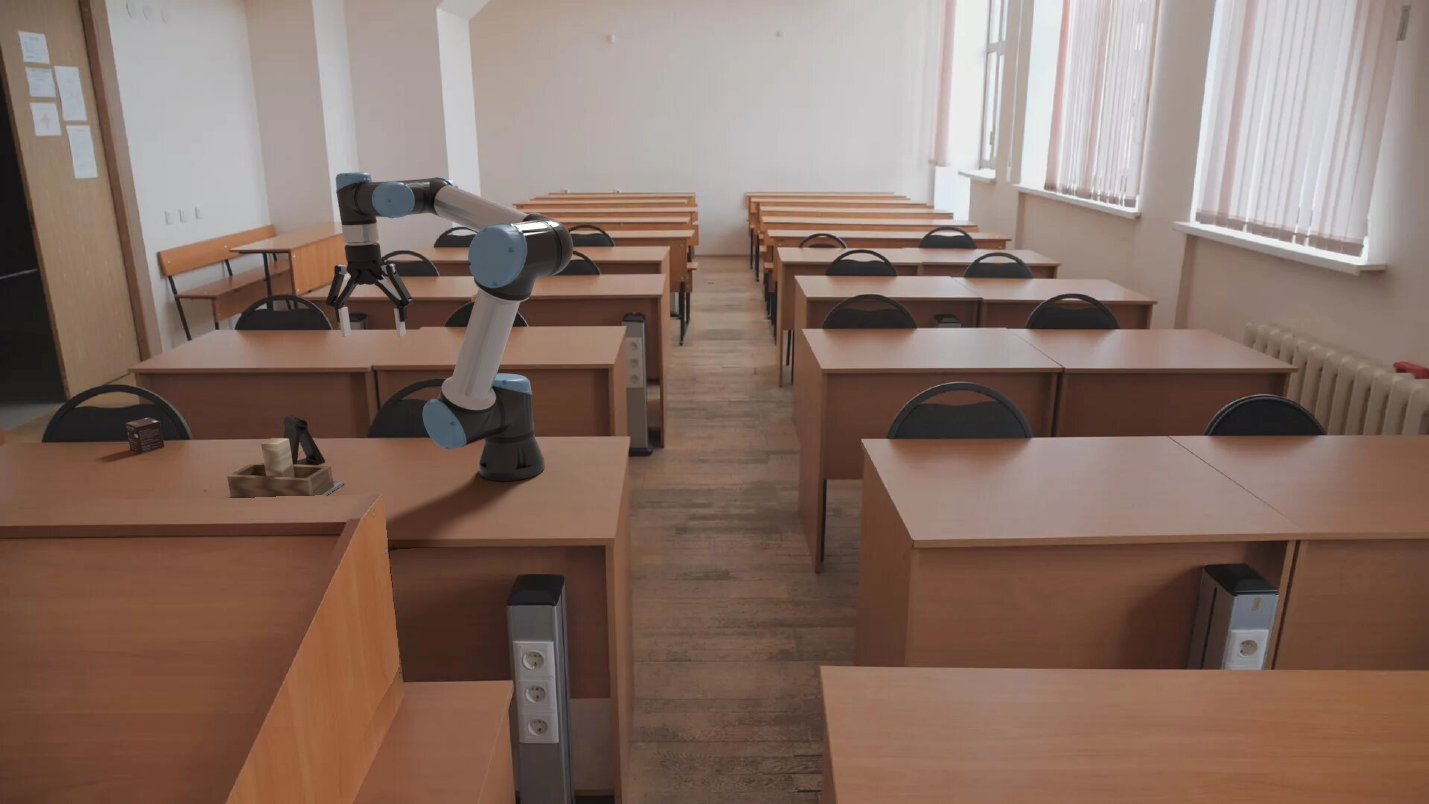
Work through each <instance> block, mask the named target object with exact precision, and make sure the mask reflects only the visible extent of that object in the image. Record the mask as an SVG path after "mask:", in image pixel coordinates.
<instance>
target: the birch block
mask: <svg viewBox="0 0 1429 804" xmlns="http://www.w3.org/2000/svg"><path fill="white" fill-rule="evenodd" d="M260 446H261V451H262V458H263V463H264V465H265V471H266V476H272V477H292V478H295V474H294V468H293V462H292V455H291V449H290V442H289V439H286V438H283V437H271V438H269V439H268V440H266V441H263V442H261V444H260Z"/></svg>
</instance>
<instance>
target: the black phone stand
mask: <svg viewBox="0 0 1429 804" xmlns="http://www.w3.org/2000/svg"><path fill="white" fill-rule="evenodd" d="M283 425H284V433H283V437H282V438H286V439H289V442H290V449H291V455H292V462H293V464H297V465H318V466H319V465H321V464H325V463H326V459H325V458H324V455H323V454H322V453H321V451H320V449H319V447H318V446H317V444H316V442H315V441H314V438H313V437H312V435H311V433H310V432H309V429H308V425H309V424H308V422H307V421H306V420H305V419H302V418H300V417H297V416H294V415H293V414H292V415H291V414H290V416H288V415H287V416H285V417H284V419H283ZM300 447H301V449H302V451H303V452H304V455H305V458H301V459H298V457H299V449H300Z"/></svg>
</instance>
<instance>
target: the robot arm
mask: <svg viewBox="0 0 1429 804" xmlns="http://www.w3.org/2000/svg"><path fill="white" fill-rule="evenodd" d="M371 176H372V175H371V174H370V173H369V172H366V171H360V172H358V171H357V172H356V171H355V172H354V171H353V172H340V173H338V174H336V177H335V187H336V190H335V194H336V198H337V199H336V200H337V203H338V204H337V205H338V211H339V216H340V221H341V222H340V223H341V232H342V241H343V243H345V244H346V245H344V253H345V260H346V263H347V264H346V265H344V264H343V263H341V264H336V265H334V269H333V272H334V277H333V279H332V282H331V285H330V288H329V292H328V295H327V297H326V300H325V305H326V306H328V307H329V306H330V307H333V309H334V310H335V316H336V321H337V323H340V330H341V331H340V332H341V337H342V338H346V337H348V336H351V335H352V330H351V321H350V315H349V308H348V306H346V305H345V304H346V303H347V301H348V300H349V299H350V297H351V295H352V293H354V291H355V289H356V287H357V286H362V285H368V286H369V285H370V286H373V285H375V286H376V287H377V288H379V289H380V291H382V292H383V293H384V294H385V296H386V297H387V298H388V299H390V301H391V302H392V304H394V305H395V308H393V313H394V320H395V326H396V327H395V328H396V334H397V337H398V338H401V337H404V336H406V335H407V331H406V325H405V324H406V323H405V322H407V321H408V313H407V312H408V311H407V307H408V306H409V305H412V304H414V301H415V300H414V298H413V297H412V294H411V293H410V292H409V290H408V288H407V287H406V284H405V283H404V282H403V280H402V278H401V276H400V275H399V273H398V269H397V265H396V264H395V263H390V264H386V265H384V264H383V263H382V253H381V250H382V249H381V245H380V244H379V242H377V241H379V240H380V238H379V237H380V236H379V228H378V220H377V217H378V218H388V219H395V218H397V219H399V218H404V217H406V216H411V215H420V214H431V215H434V216H437V217H439V218H442V219H445V220H448V221H450V222H451V223H455V224H457V225H460V226H462V227H465V228H467V229H469V230H473V231H474V232H476V234H475V235H474V237H473V239H472V240H471V242H470V245H469V248H468V255H467V260H468V262H470V265H469V266H468V267H469V271H470V273H471V275H472V277H473V282H474V284H475V286H476V287H477V288H478V289H477V290H478V291H477V292H476V296H475V300H474V303H473V307H472V310H471V314H470V317H469V320H468V323H467V325H466V326H467V327H466V330H465V332H464V333H465V334H464V336H463V339H462V344H461V346H460V350H459V353H458V356H457V361H456V364H455V367H454V370H453V374H452V376H450V377H448V378H446V379H445V380H444V381H443V382H442V384H441V386H440V392H439V394H438V397H437V398H432V399H430V400H429V401H427V402H426V403H425V404H424V406H423V409H422V419H423V420H422V421H423V425H424V428H425V429H426V432H427V435H428V436H429V437H430V439H431V440H432V441H433V442H434V443H435V444H436V445H437V446H438V447H439V448H441V449H443V450H447V451H450V450H451V451H452V450H456V449H461V448H465V447H466V446H469V445H471V444H475V443H476V442H479V441H482V440H483V445H482V450H481V454H480V458H479V462H478V468H479V469H478V470H479V471H478V474H479V475H480V476H481V477H482V478H484V479H487V480H489V481H495V482H497V481H498V482H510V481H512V482H513V481H520V480H524V479H525V480H526V479H528V478H532V477H535V476H536V475H540V474H541V473H542V472H543V471H544V470H545V468H546V463H545V457H544V454H543V452H542V450H541V448H540V445H539V443H538V441H537V439H536V435H535V423H534V422H535V421H534V406H533V405H534V403H533V392H532V388H531V381H530V380H529V378H527V376H525V375H521V374H515V373H498V371H499V367H500V364H501V362H502V358H503V356H504V352H505V349H506V347H507V343H508V341H509V337H510V334H511V331H512V328H513V325H514V323H515V322H514V321H515V319H516V315H517V314H518V309H519V308H520V304H521V303H522V302H525V301H527V300H529V298H530V297H531V295H532V292H533V289H534V286H535V283H536V281H537V280H538V279H543V278H547V277H551V276H554V275H557V274H559V273H560V272H562V271H563V270H564V269H565V268H566V267H567V266H568V265H569V263H570V261H571V259H572V258H573V257H572V256H573V254H574V253H573V252H574V243H573V241H574V240H573V237H572V235H571V233H570V231H569V230H568V228H567V226H565V225H564V224H563V223H561V222H560V221H558V220H557V219H555V218H553V217H550V216H548V215H545V214H542V213H539V212H530V213H525V212H523V211H520V210H519V209H518V210H517V209H515V208H513V207H510V206H506V205H504V204H501V203H499V202H497V201H496V202H495V201H494V200H491V199H488V198H485V197H483V196H480V195H478V194H475V193H472V192H470V191H466V190H464V189H462V188H459V186H458V185H457V184H456V183H455V181H454V180H453V179H451V178H449V177H431V178H428V177H427V178H418V179H417V178H416V179H406V180H405V179H403V180H402V179H401V180H386V181H373V180H372V177H371ZM347 273H348V275H349V278H348V280H347V282H346V285H345V287H344V288H343V290H342V291H341V289H342V285H343V283H344V279H345V275H347ZM383 273H385V275H387V278H388V279H389V281H390V283H391V284H392V285H390V283H389V282H388V279H386V278H385V276H383ZM392 286H393V287H392ZM340 292H341V293H340Z"/></svg>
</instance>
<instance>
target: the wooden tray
mask: <svg viewBox="0 0 1429 804" xmlns="http://www.w3.org/2000/svg"><path fill="white" fill-rule="evenodd" d="M293 468H294V474H295V478H292V477H272V476H266V471H265V465H264V462H251V463H249V464H247V465H246V466H244V467H242V468H240V469H238V470H236V471H235V472H233V473H231V474H229V475H227V476H226V478H227V482H228V483H227V484H228V487H229V488H228V489H229V495H230V497H229V498H255V497H276V496H315V495H327V494H330V493H331V494H332V491H333V490H335V489H337V488H338V487H340V488H341V486H342V485H343V484H344V485H345V481H344V480H343V481H341V480H334V478H333V477H334V476H333V471H332V470H333V469H332V466H331V465H319V464H318V465H297V464H293ZM344 485H343V486H344ZM343 486H342V487H343ZM337 490H338V489H337ZM331 494H330V495H331Z"/></svg>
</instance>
